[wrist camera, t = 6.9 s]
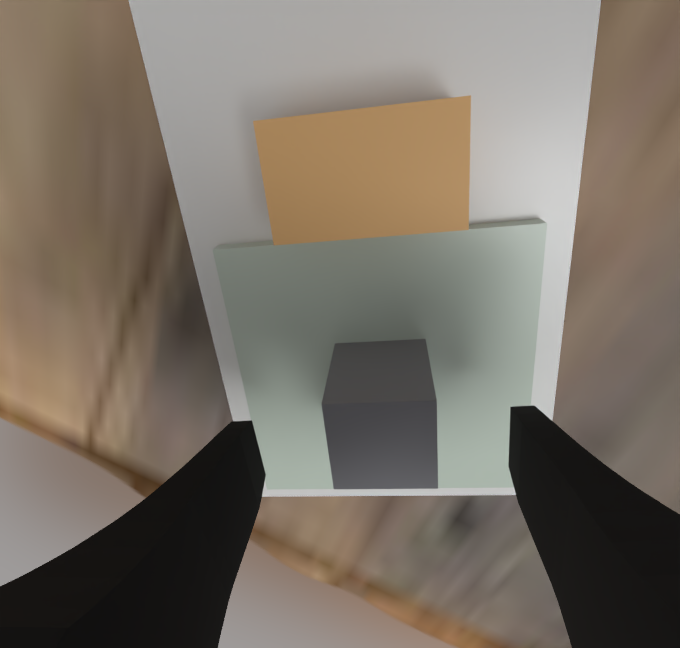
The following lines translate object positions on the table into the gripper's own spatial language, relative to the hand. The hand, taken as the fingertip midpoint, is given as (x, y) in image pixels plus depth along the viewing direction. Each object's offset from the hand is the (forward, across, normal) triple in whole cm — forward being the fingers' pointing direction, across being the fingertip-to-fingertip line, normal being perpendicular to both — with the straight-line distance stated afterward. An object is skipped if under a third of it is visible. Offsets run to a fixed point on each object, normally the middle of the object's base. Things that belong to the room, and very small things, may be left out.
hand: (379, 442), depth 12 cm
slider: (+4, 0, -7) cm, 8 cm away
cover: (+4, 0, 0) cm, 4 cm away
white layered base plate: (+6, 0, -3) cm, 7 cm away
